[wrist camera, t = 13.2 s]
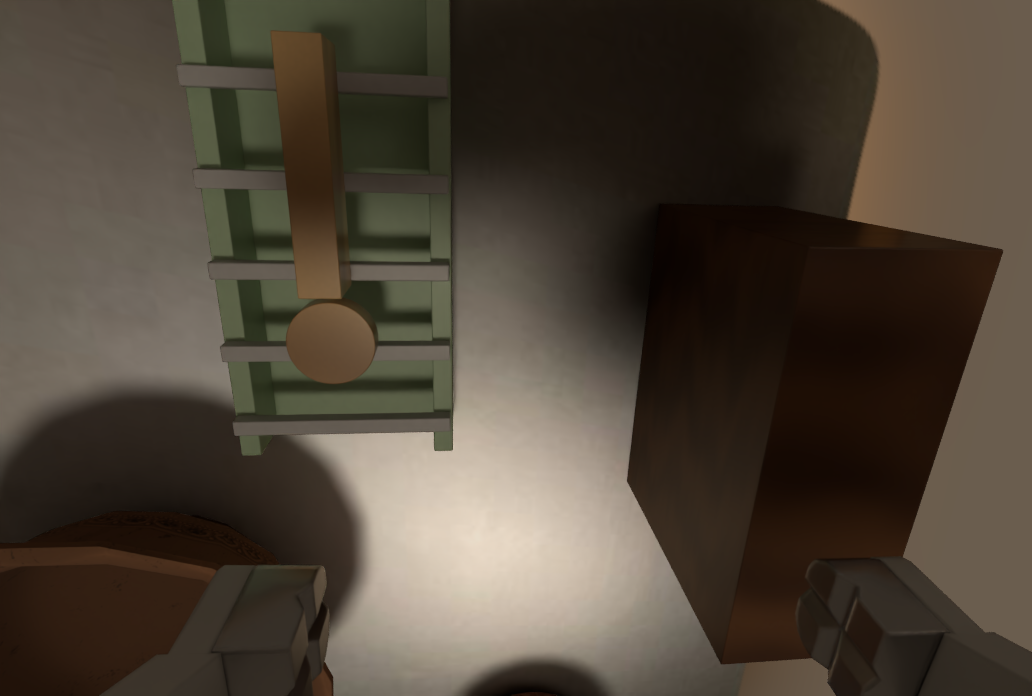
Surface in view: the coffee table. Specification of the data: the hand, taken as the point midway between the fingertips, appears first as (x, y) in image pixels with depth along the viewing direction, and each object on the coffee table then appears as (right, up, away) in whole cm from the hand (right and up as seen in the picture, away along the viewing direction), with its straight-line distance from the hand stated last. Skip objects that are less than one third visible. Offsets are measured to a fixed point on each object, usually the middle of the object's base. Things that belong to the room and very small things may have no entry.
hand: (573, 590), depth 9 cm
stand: (+10, +4, +25) cm, 27 cm away
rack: (-10, +11, +20) cm, 25 cm away
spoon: (-9, +9, +16) cm, 21 cm away
